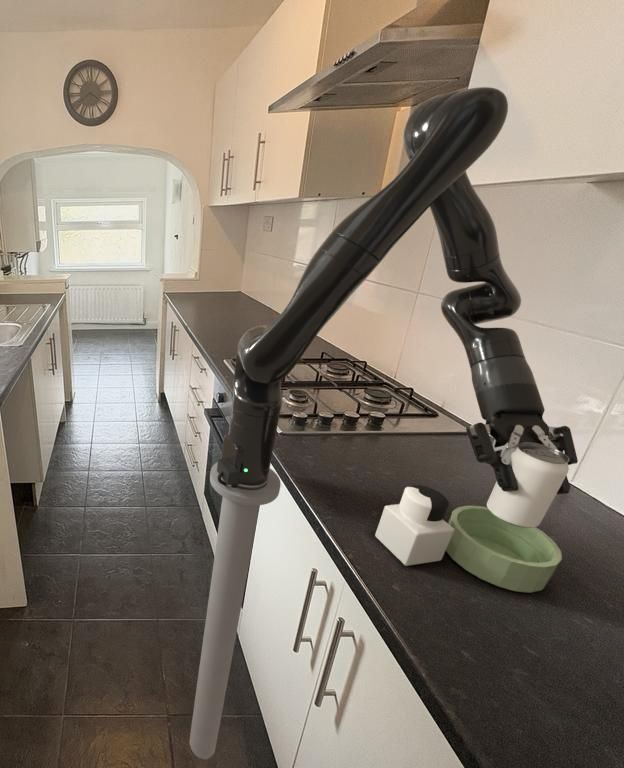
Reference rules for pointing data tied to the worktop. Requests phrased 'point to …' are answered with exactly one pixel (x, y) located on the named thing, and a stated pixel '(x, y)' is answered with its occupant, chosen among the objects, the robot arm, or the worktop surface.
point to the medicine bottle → (416, 526)
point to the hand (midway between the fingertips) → (535, 492)
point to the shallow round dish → (502, 550)
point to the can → (530, 485)
